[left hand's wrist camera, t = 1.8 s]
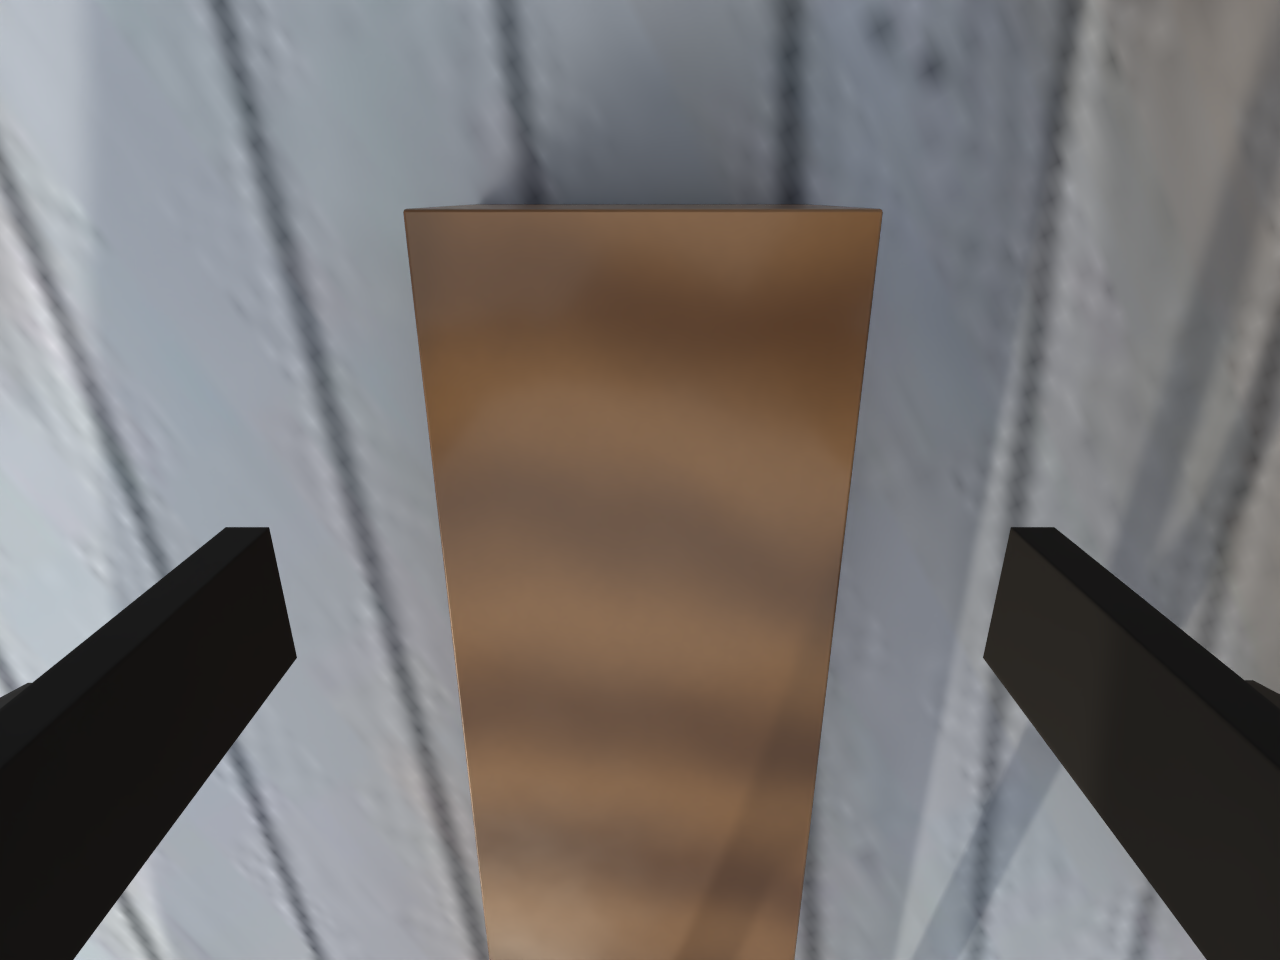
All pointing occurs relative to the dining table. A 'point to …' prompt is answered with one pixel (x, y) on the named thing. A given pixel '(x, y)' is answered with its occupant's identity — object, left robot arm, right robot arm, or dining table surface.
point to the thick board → (642, 554)
